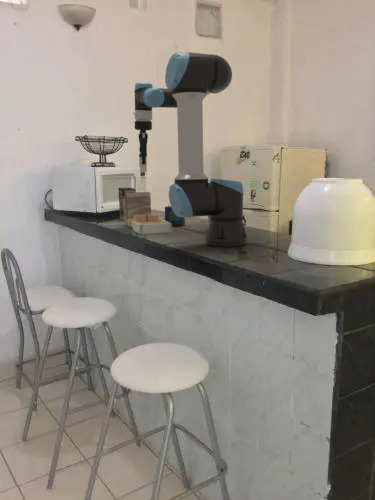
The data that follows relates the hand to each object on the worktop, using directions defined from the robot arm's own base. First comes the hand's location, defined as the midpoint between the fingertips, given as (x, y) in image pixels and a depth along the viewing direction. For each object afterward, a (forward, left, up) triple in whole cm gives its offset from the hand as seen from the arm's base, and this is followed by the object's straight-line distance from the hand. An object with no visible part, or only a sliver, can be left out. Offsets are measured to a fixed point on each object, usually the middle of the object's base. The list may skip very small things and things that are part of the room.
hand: (142, 169), depth 207 cm
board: (0, +1, -26) cm, 26 cm away
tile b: (-6, +4, -23) cm, 24 cm away
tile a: (-6, -1, -23) cm, 24 cm away
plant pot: (-27, -24, -26) cm, 45 cm away
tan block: (+6, +1, -23) cm, 24 cm away
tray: (-16, +1, -26) cm, 31 cm away
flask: (-4, -13, -26) cm, 30 cm away
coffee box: (+26, +2, -26) cm, 37 cm away
